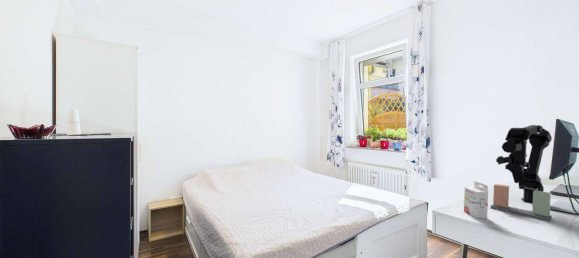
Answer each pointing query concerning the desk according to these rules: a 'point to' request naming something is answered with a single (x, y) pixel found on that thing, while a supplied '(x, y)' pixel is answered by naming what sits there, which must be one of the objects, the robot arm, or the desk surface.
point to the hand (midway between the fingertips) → (517, 182)
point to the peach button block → (501, 195)
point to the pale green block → (541, 203)
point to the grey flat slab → (521, 212)
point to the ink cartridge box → (476, 200)
